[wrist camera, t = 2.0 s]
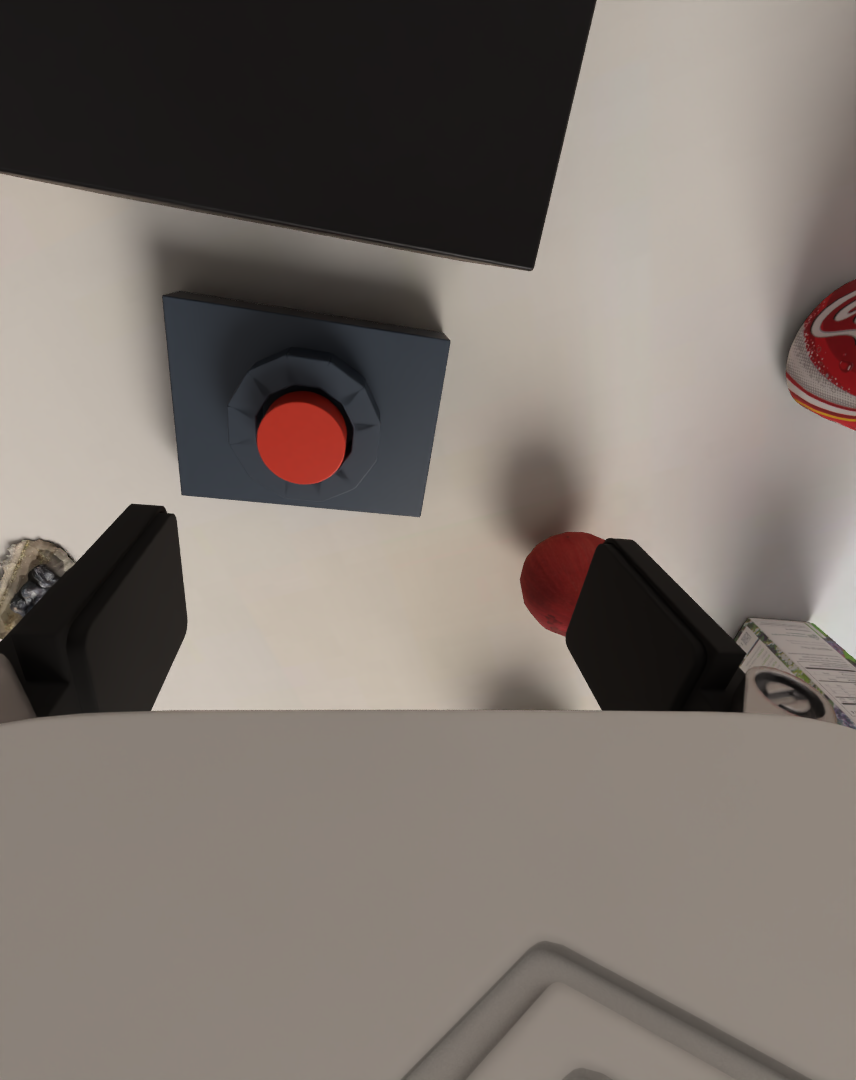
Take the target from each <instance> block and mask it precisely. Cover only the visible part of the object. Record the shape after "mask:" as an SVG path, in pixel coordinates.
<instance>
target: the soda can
mask: <svg viewBox="0 0 856 1080" xmlns="http://www.w3.org/2000/svg"><path fill="white" fill-rule="evenodd" d="M786 382H787V386H788V389H789V391H790V393H791V395H792V397H793V398H794V399H795V401H796V402H797V403H799V404H800V405H802V406H803V407H805V408H807V409H809V410H810V411H812V412H814V413H816V414H818V415H820V416H821V417H823V418H826V419H828V420H830V421H833V422H835V423H838V424H840V425H843V426H845V427H848V428H850V429H853V430H856V279H855V280H853V281H851V282H849V283H846V284H845V285H843V286H841V287H840V288H838V289H837V290H835V291H834V292H833V293H831V294H830V295H829V296H828V297H826V298H825V299H824V300H823V301H822V302H821V303H820V304H819V305H818V306H817V307H816V308H815V309H814V310H813V311H812V313H811V314H810V315H809V316H808V317H807V319H806V320H805V322H804V323H803V325H802V326H801V328H800V329H799V331H798V333H797V335H796V337H795V339H794V341H793V343H792V346H791V349H790V351H789V355H788V359H787V365H786Z"/></svg>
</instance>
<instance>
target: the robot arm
mask: <svg viewBox="0 0 856 1080" xmlns="http://www.w3.org/2000/svg"><path fill="white" fill-rule="evenodd" d="M186 630H187V611H186V602H185V592H184V583H183V574H182V565H181V556H180V546H179V537H178V528H177V520H176V517H175V515H174V514H169V513H167V511H166V509H165V508H164V506H155V505H141V504H131V505H129V506H128V507H127V508H126V510H125V511H124V512H123V513H122V514H121V515H120V516H119V517H118V518H117V519H116V520H115V521H114V522H113V524H112V525H111V526H110V527H109V528H108V529H107V530H106V531H105V532H104V533H103V534H102V535H101V536H100V538H99V539H98V540H97V541H96V542H95V543H94V544H93V545H92V546H91V547H90V548H89V549H88V550H87V551H86V553H85V554H84V555H83V556H82V557H81V558H80V559H79V560H78V561H77V562H76V563H75V564H74V565H73V566H72V567H71V568H69V569H68V570H67V571H66V572H65V573H64V574H63V575H62V577H61V578H60V579H59V580H58V581H57V582H56V583H55V584H54V585H53V586H52V587H51V588H50V589H49V590H48V591H47V593H46V594H45V595H44V596H43V597H42V598H41V599H40V600H39V601H38V602H37V603H36V604H35V605H34V606H33V608H32V609H31V610H30V611H29V612H28V613H27V614H26V615H25V616H24V617H23V618H22V619H21V620H20V621H19V622H18V624H17V625H16V626H15V627H14V628H13V629H12V630H11V631H10V632H9V633H8V634H7V635H6V636H5V637H4V639H3V640H2V641H1V642H0V1080H856V730H855V729H852V728H849V727H846V726H842V725H838V724H837V718H836V713H835V711H834V709H833V706H832V705H831V704H830V702H829V701H828V700H827V699H826V698H825V696H823V695H822V694H821V693H820V692H819V691H818V690H816V689H815V688H814V687H813V686H811V685H810V684H808V683H807V682H805V681H803V680H802V679H800V678H798V677H796V676H794V675H792V674H790V673H788V672H785V671H782V670H779V669H776V668H772V667H766V666H754V667H752V668H750V669H748V671H747V672H746V674H745V673H744V672H743V671H742V670H741V669H740V668H739V666H740V664H741V662H742V661H743V659H744V657H745V656H746V654H747V653H746V652H745V651H744V650H743V649H742V648H741V647H740V646H739V645H738V644H737V643H736V642H735V641H734V640H733V639H732V638H731V637H730V636H729V635H728V634H727V633H726V632H725V631H724V630H723V629H722V628H721V627H720V626H719V625H718V624H717V623H716V622H715V621H714V620H713V619H712V618H711V617H710V616H709V615H708V614H707V613H706V612H705V611H704V610H703V609H702V608H701V607H700V606H699V605H698V604H697V603H696V602H695V601H694V600H693V599H692V598H691V597H690V596H689V595H688V594H687V593H686V592H685V591H684V590H683V589H682V588H681V587H680V586H679V585H678V584H677V583H676V582H675V581H674V580H673V579H672V578H671V577H670V576H669V575H668V574H667V573H666V572H665V571H664V570H663V569H662V568H661V567H660V566H659V565H658V564H657V563H656V562H655V561H654V560H653V559H652V558H651V557H650V556H649V555H648V554H647V553H646V552H645V551H644V550H643V549H642V548H641V547H640V546H639V545H638V544H637V543H636V542H635V541H633V540H627V539H613V538H608V539H606V540H605V541H604V543H603V544H599V545H598V546H597V548H596V550H595V552H594V555H593V558H592V561H591V564H590V566H589V569H588V572H587V575H586V578H585V581H584V583H583V586H582V589H581V592H580V595H579V597H578V600H577V603H576V606H575V609H574V612H573V614H572V617H571V620H570V623H569V626H568V628H567V631H566V645H567V647H568V649H569V651H570V653H571V655H572V657H573V658H574V660H575V662H576V664H577V666H578V668H579V669H580V671H581V673H582V675H583V677H584V678H585V680H586V682H587V684H588V686H589V688H590V689H591V691H592V693H593V695H594V697H595V699H596V700H597V702H598V704H599V706H600V708H601V709H602V711H587V710H169V711H151V709H152V707H153V705H154V703H155V701H156V698H157V696H158V694H159V692H160V690H161V687H162V685H163V683H164V681H165V679H166V676H167V674H168V672H169V670H170V668H171V666H172V663H173V661H174V659H175V657H176V655H177V652H178V650H179V648H180V646H181V644H182V641H183V639H184V637H185V634H186Z"/></svg>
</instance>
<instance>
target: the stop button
mask: <svg viewBox="0 0 856 1080" xmlns="http://www.w3.org/2000/svg"><path fill="white" fill-rule="evenodd" d="M346 440H347V429H346V424H345V421H344V418H343V416H342V414H341V412H340V411H339V410H338V408H337V407H336V406H335V405H334V404H333V403H332V402H331V401H330V400H328V399H327V398H325V397H323V396H321V395H319V394H316V393H313V392H309V391H295V392H290V393H287V394H285V395H283V396H281V397H279V398H278V399H277V400H275V401H274V402H273V403H272V405H271V406H270V407H269V409H268V411H267V412H266V414H265V415H264V417H263V419H262V421H261V422H260V425H259V427H258V431H257V447H258V451H259V454H260V456H261V458H262V460H263V462H264V463H265V465H266V466H267V467H268V468H269V469H270V470H271V471H272V472H273V473H274V474H276V475H277V476H278V477H280V478H282V479H284V480H286V481H289V482H292V483H296V484H314V483H318V482H321V481H323V480H325V479H327V478H329V477H330V476H332V475H333V474H334V473H335V472H336V471H337V470H338V468H339V467H340V465H341V463H342V461H343V459H344V455H345V449H346Z"/></svg>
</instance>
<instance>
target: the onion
mask: <svg viewBox="0 0 856 1080" xmlns="http://www.w3.org/2000/svg"><path fill="white" fill-rule="evenodd" d="M604 541H605V540H604V539H601V538H599V537H596V536H594V535H592V534H589V533H584V532H565V533H562V534H558V535H554V536H551V537H549V538H547V539H546V540H544V541H543V542H541V543H539V544H538V545H536V547H535V548H534V549H533V550H532V551H531V553H530V554H529V555H528V556H527V558H526V560H525V562H524V565H523V569H522V573H521V577H520V583H521V588H522V594H523V599H524V603H525V605H526V607H527V608H528V610H529V611H530V613H531V614H532V615H533V616H534V617H535V619H536V620H537V621H538V622H539V623H540V624H541V625H542V626H543V627H545V628H546V629H548V630H550V631H552V632H555V633H557V634H560V635H562V636H565V637H566V631H567V628H568V626H569V623H570V620H571V617H572V614H573V612H574V609H575V606H576V603H577V600H578V597H579V595H580V592H581V589H582V586H583V583H584V581H585V578H586V575H587V572H588V569H589V566H590V564H591V561H592V558H593V555H594V552H595V550H596V548H597V546H598V545H599V544H603V543H604Z"/></svg>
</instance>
